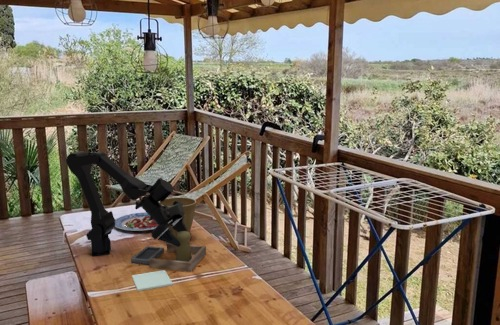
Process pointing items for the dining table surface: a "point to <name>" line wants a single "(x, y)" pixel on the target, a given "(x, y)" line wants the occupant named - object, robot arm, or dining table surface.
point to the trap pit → (147, 255)
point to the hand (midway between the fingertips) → (184, 241)
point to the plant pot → (188, 210)
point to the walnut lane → (179, 265)
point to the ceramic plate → (136, 222)
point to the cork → (183, 246)
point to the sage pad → (151, 280)
